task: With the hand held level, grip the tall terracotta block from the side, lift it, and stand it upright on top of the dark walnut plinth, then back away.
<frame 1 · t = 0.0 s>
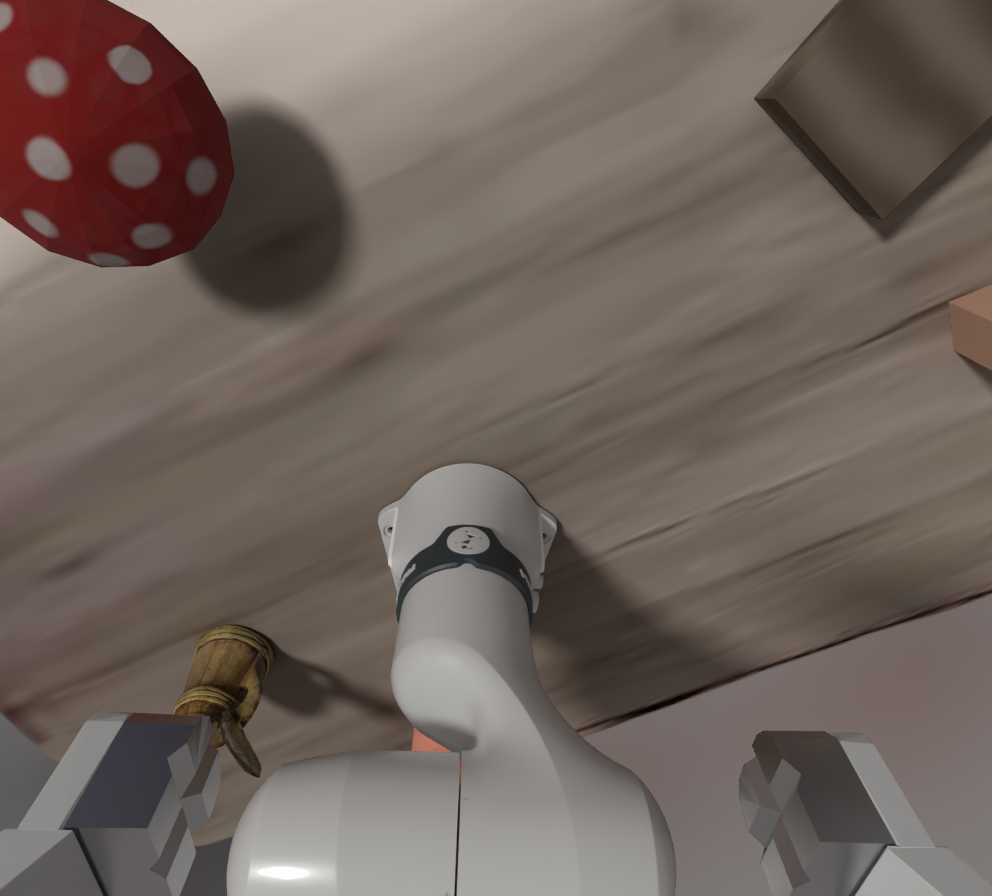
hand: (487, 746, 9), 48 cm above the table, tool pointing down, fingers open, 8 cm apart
decorative mushroom: (164, 135, 48), on the table
terracotta block: (980, 315, 56), on the table
wooden mug: (253, 644, 75), on the table
walnut plinth: (877, 83, 47), on the table
teapot: (458, 710, 82), on the table
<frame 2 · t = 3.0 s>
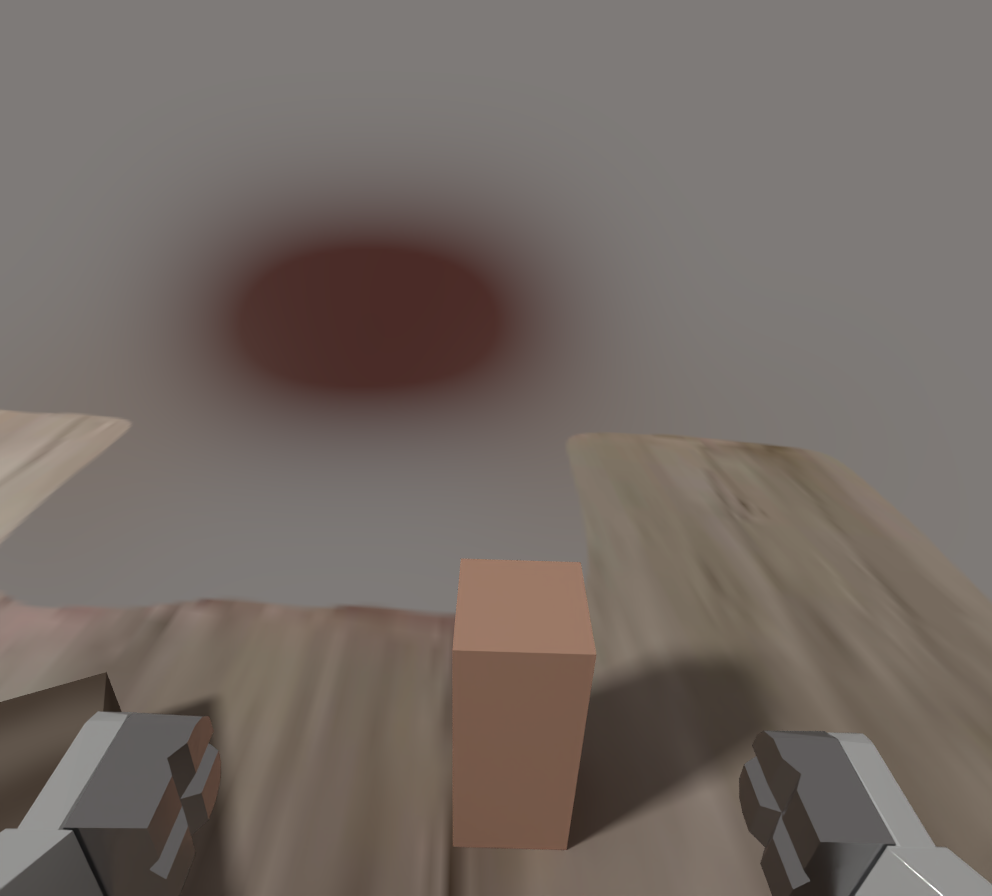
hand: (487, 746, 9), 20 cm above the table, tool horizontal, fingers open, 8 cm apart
terracotta block: (509, 793, 30), on the table
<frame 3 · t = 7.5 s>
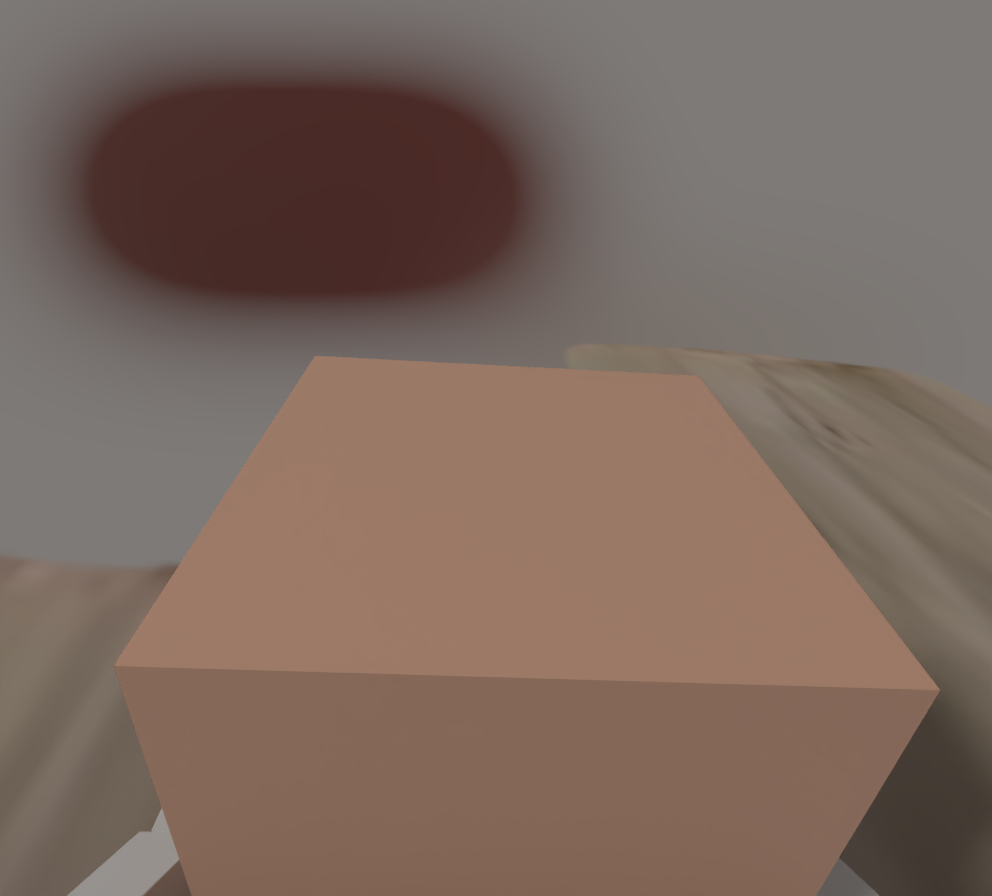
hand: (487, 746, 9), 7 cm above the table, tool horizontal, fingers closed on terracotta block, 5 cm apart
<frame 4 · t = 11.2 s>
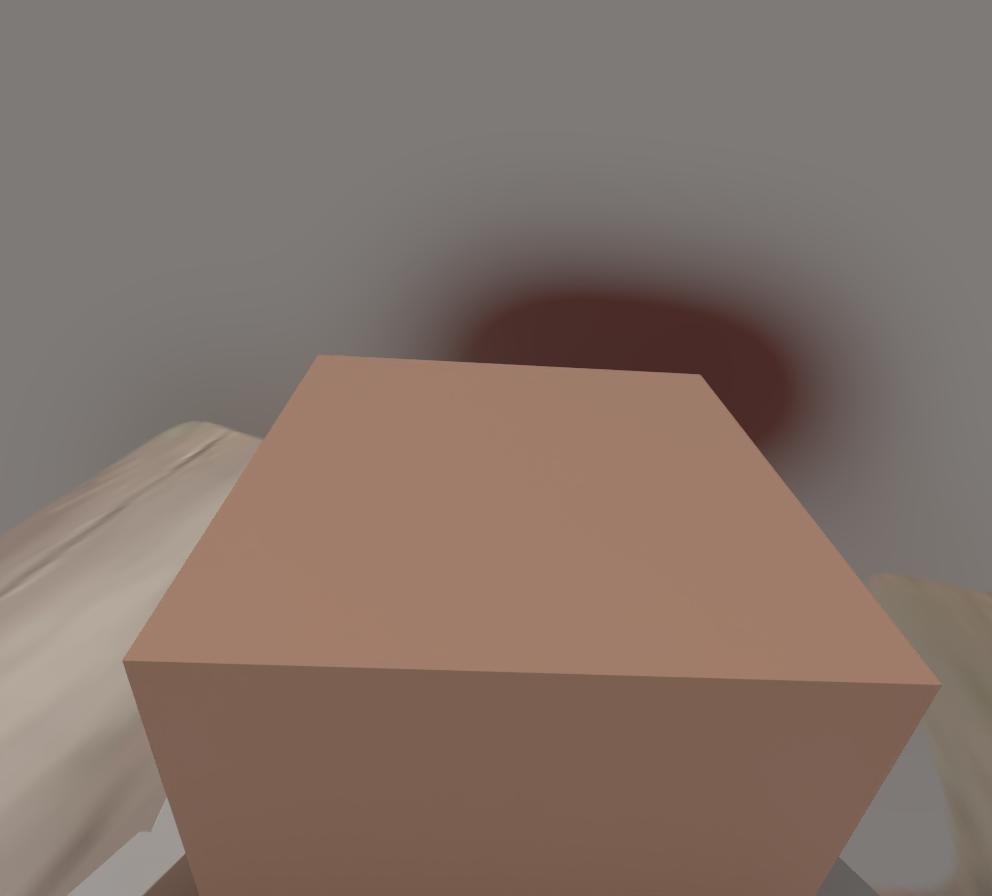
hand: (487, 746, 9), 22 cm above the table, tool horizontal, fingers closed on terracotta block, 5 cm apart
when the fingers open (11 cm above the table, at t = 14.9 s): terracotta block stays where it is, resting on walnut plinth.
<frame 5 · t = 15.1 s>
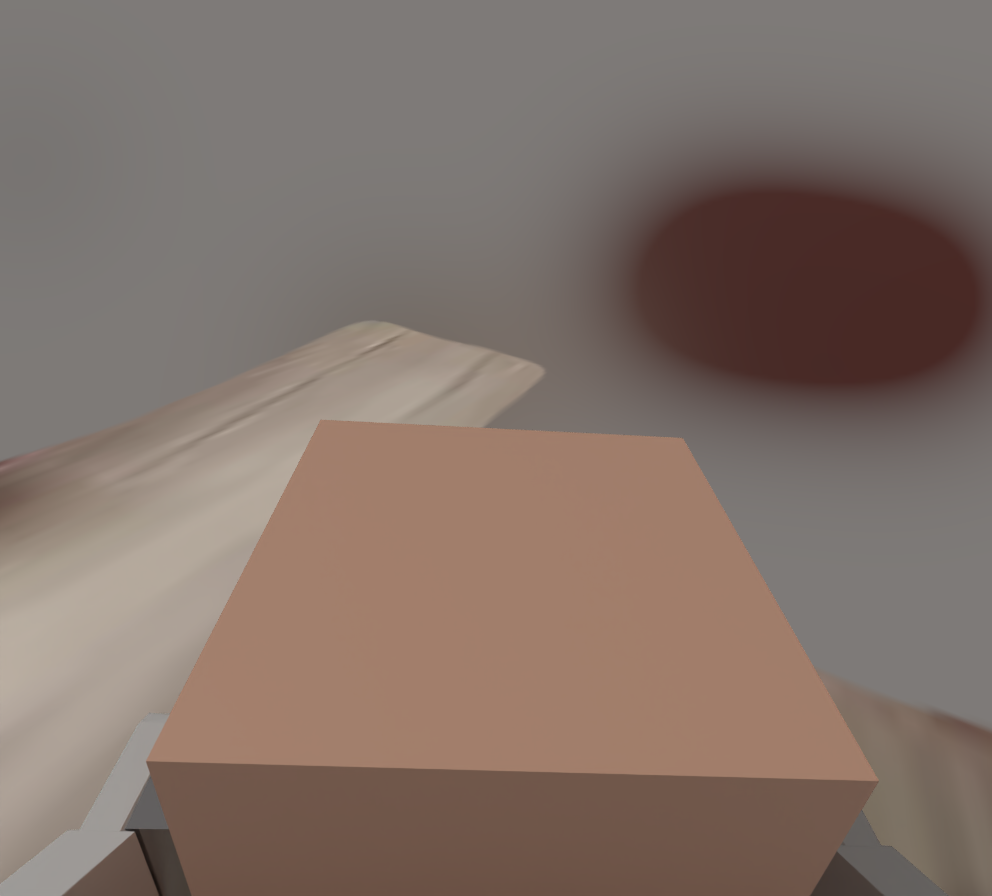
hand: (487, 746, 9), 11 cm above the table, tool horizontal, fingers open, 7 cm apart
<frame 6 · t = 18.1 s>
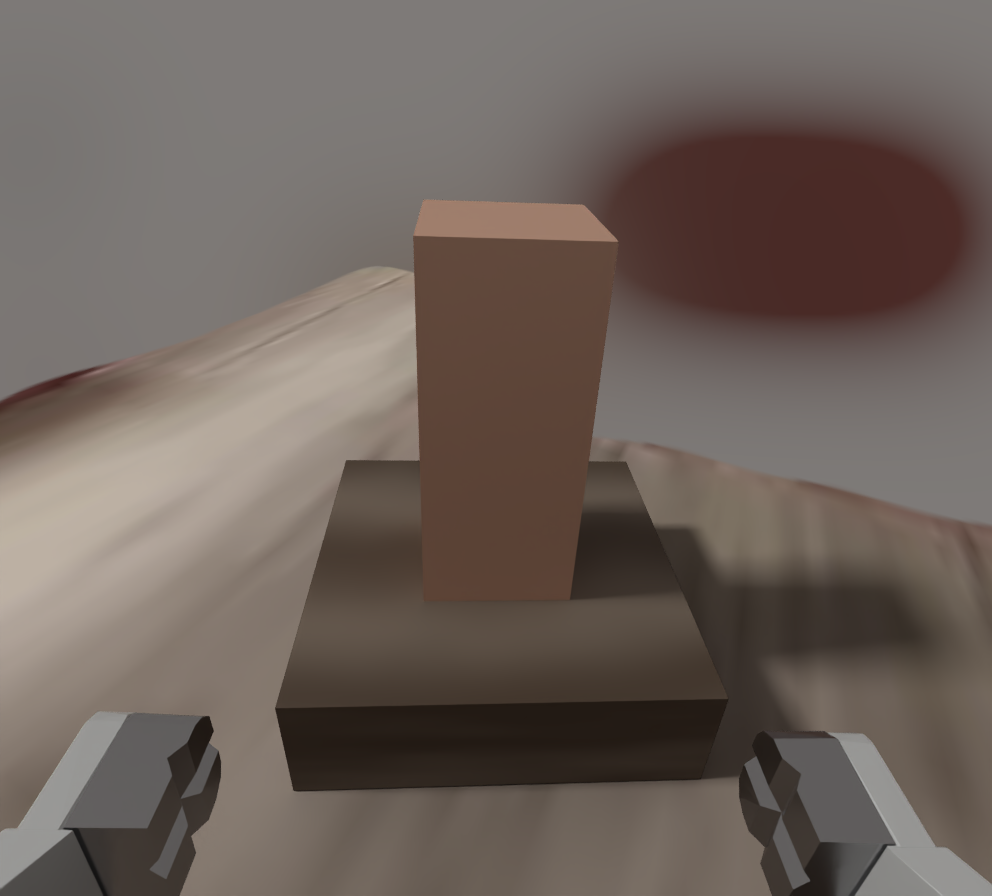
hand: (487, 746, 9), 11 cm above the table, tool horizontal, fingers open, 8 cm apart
terracotta block: (493, 552, 23), point 4 cm above the table, touching walnut plinth
walnut plinth: (491, 628, 25), on the table
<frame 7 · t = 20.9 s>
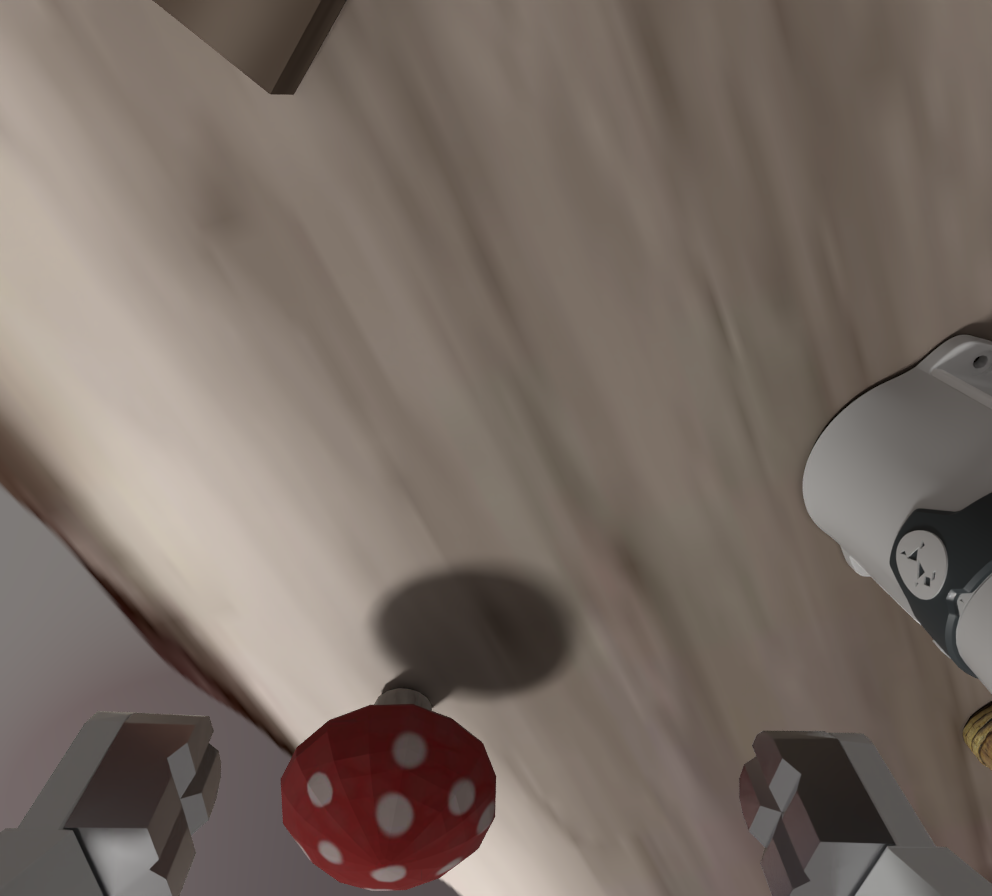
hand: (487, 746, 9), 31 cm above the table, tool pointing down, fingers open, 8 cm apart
decorative mushroom: (406, 688, 55), on the table
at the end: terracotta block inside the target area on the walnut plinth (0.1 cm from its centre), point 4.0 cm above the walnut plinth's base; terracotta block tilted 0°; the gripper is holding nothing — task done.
